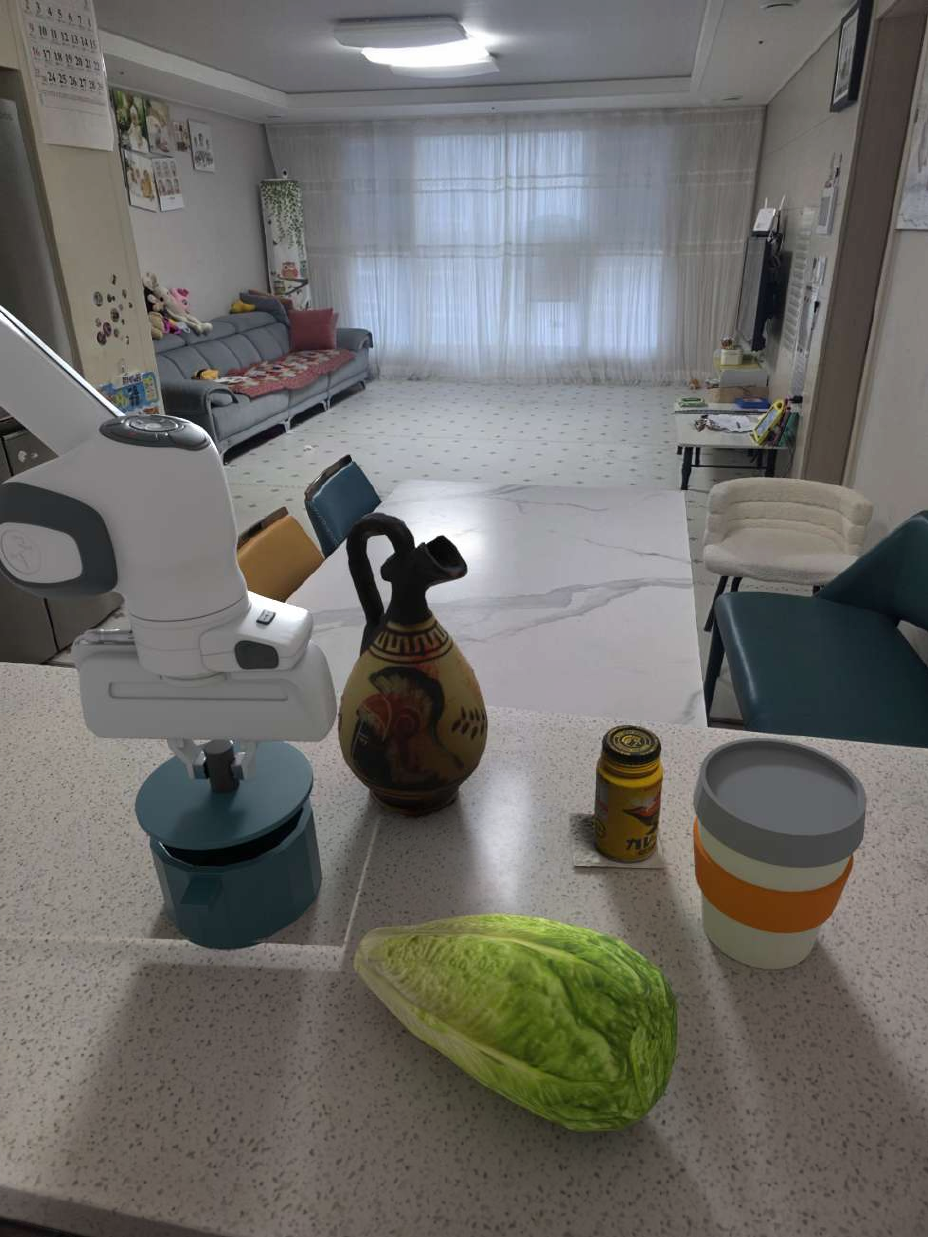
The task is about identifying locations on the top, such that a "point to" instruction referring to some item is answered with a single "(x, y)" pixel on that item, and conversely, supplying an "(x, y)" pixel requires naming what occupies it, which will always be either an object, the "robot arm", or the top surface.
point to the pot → (242, 887)
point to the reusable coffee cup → (773, 846)
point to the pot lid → (224, 796)
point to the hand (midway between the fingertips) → (224, 775)
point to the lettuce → (533, 1011)
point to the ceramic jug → (409, 679)
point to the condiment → (623, 804)
